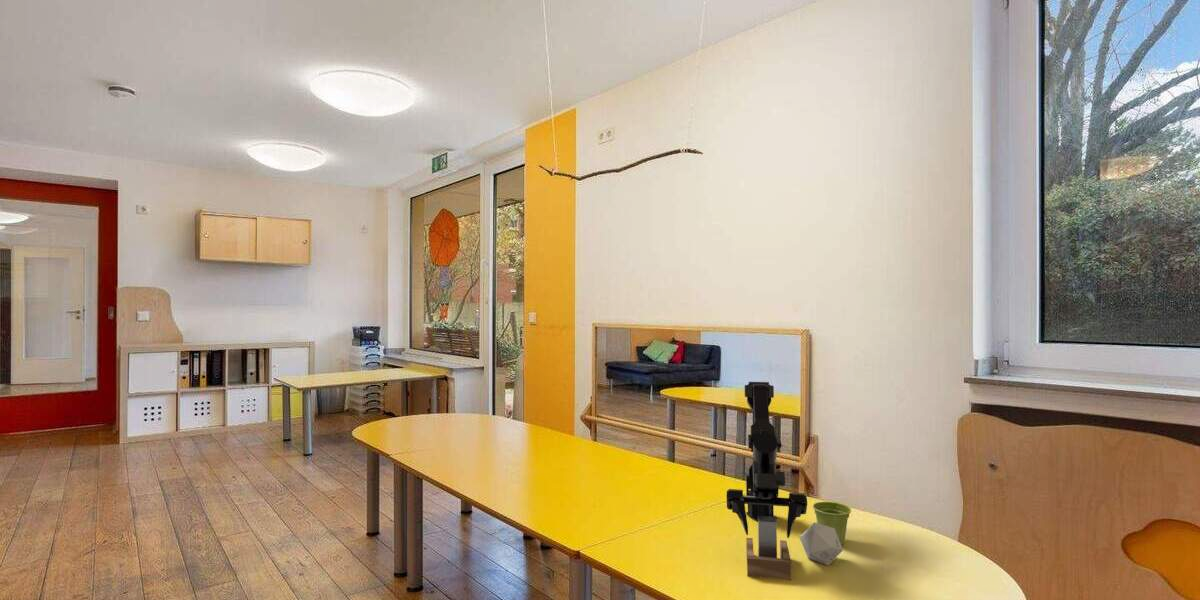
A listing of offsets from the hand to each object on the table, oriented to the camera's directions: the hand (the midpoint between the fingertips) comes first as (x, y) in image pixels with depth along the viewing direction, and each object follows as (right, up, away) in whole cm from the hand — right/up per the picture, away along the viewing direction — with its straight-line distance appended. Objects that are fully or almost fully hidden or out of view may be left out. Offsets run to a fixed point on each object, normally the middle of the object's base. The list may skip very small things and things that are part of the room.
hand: (767, 535), depth 137 cm
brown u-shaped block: (0, -8, +1) cm, 8 cm away
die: (+14, -8, +4) cm, 17 cm away
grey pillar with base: (0, -8, +1) cm, 8 cm away
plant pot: (+21, -8, +15) cm, 27 cm away
